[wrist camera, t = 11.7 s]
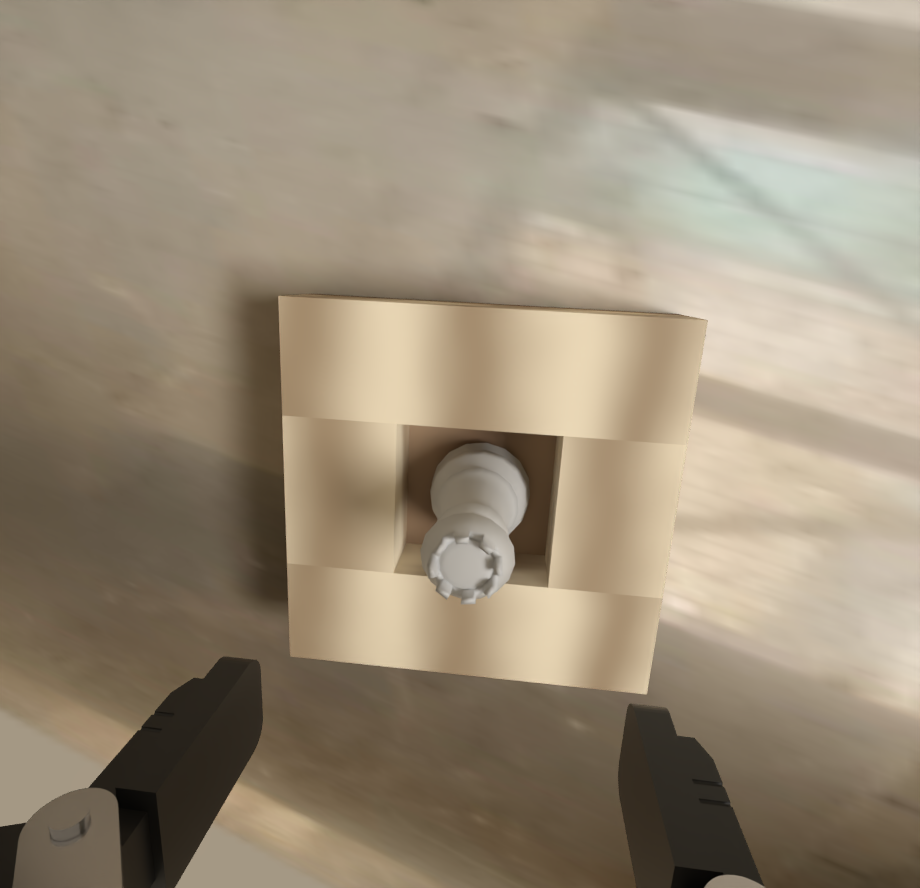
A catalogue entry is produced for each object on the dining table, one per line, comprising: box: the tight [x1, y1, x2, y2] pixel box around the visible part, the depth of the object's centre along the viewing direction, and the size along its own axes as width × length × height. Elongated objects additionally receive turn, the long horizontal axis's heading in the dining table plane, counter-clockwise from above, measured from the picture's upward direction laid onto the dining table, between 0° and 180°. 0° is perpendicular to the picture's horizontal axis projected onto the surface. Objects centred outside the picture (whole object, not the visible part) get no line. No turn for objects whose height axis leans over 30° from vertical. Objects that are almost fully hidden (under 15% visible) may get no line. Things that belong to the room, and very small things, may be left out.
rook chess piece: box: [420, 443, 530, 604], centre depth 23 cm, size 4×4×8 cm
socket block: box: [278, 294, 708, 694], centre depth 26 cm, size 16×16×4 cm
